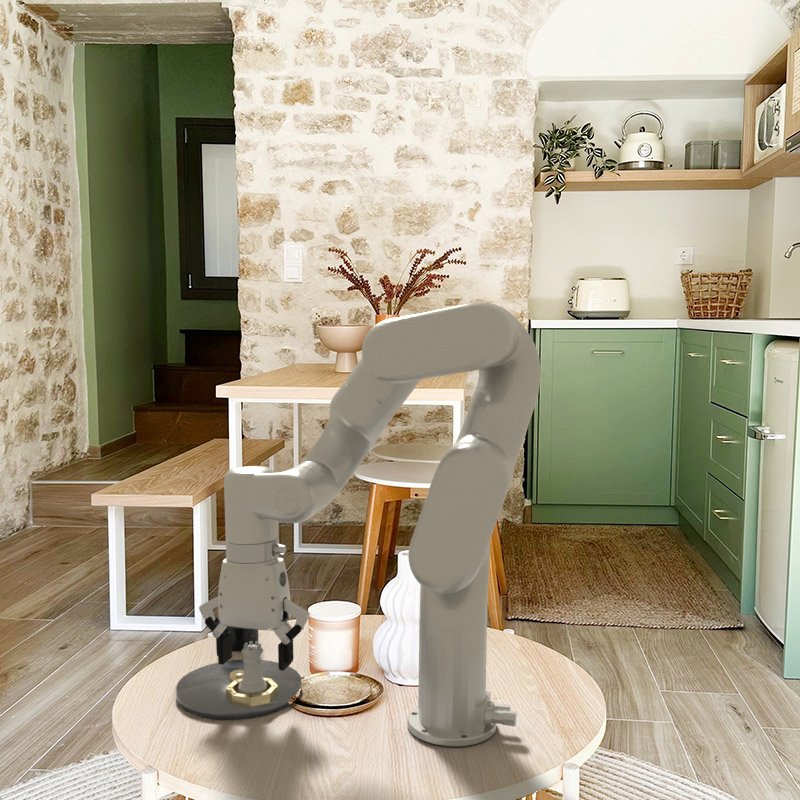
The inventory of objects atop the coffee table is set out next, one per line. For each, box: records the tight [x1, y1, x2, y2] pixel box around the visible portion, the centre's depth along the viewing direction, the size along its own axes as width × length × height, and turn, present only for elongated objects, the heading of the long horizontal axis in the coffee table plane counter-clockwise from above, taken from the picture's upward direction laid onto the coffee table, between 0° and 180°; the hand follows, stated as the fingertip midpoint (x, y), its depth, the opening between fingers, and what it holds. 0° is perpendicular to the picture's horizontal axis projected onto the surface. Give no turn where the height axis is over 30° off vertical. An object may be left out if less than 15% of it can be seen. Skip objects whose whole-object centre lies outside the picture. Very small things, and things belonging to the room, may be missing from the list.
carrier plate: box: [175, 658, 302, 721], centre depth 134 cm, size 19×19×3 cm
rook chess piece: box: [238, 641, 267, 695], centre depth 128 cm, size 4×4×8 cm
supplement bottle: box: [228, 627, 259, 653], centre depth 153 cm, size 7×7×12 cm
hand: (255, 664), depth 128 cm, fingers open, 9 cm apart
